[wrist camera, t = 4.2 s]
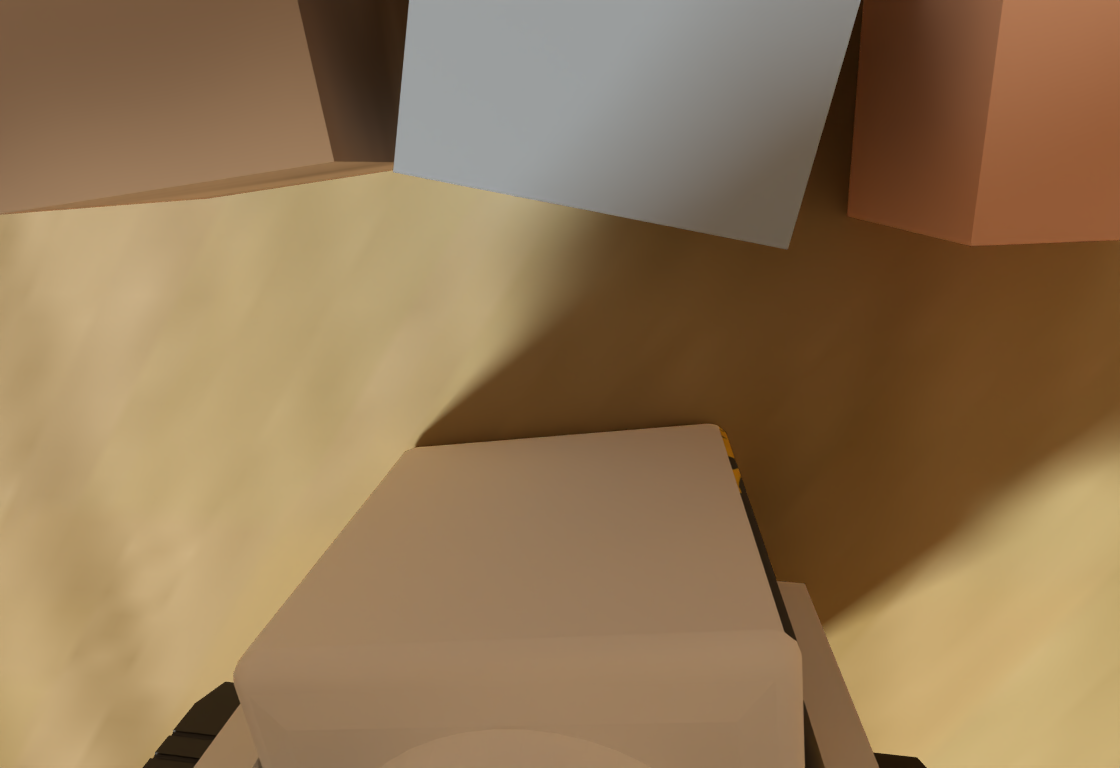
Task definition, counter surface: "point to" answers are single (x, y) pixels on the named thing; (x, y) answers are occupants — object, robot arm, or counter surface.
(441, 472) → the medicine bottle
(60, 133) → the walnut cube
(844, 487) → the counter surface
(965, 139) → the terracotta cube
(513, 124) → the slate blue cube
